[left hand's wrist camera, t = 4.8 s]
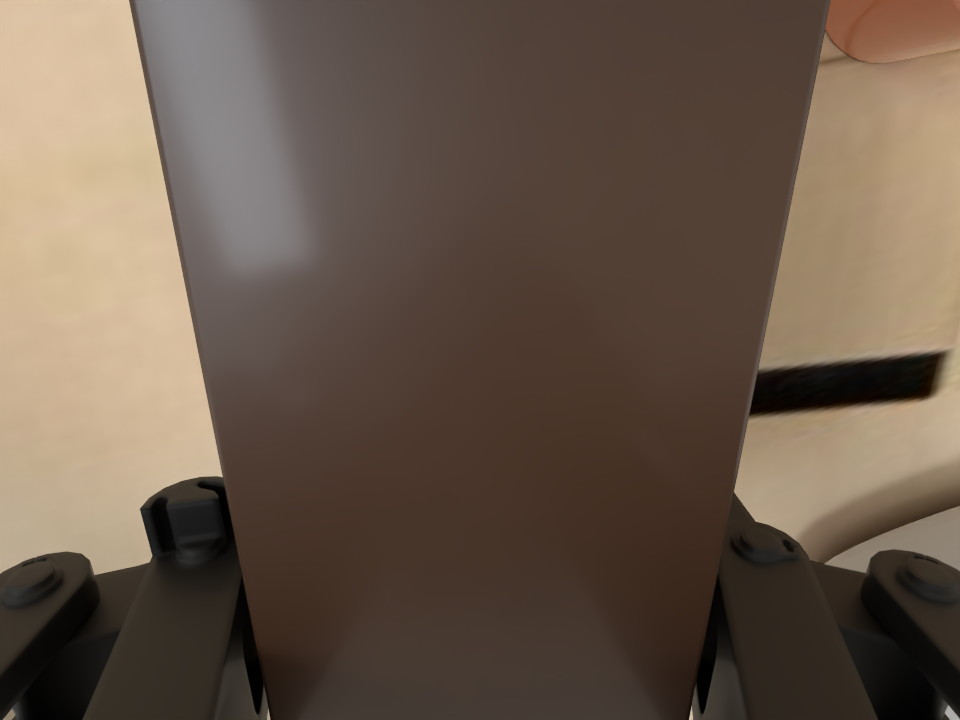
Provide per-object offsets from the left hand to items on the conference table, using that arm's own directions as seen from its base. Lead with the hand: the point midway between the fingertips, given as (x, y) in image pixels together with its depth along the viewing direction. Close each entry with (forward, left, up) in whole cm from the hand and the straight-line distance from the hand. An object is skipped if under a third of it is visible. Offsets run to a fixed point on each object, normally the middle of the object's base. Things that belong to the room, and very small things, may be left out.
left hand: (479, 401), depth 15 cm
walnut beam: (+8, +5, 0) cm, 9 cm away
